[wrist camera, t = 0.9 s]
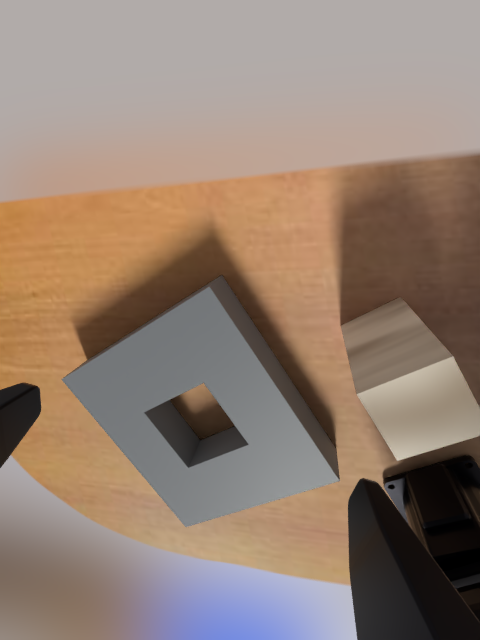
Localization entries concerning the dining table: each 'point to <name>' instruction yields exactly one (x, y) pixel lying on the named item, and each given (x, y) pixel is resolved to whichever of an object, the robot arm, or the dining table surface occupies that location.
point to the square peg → (409, 381)
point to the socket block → (230, 392)
